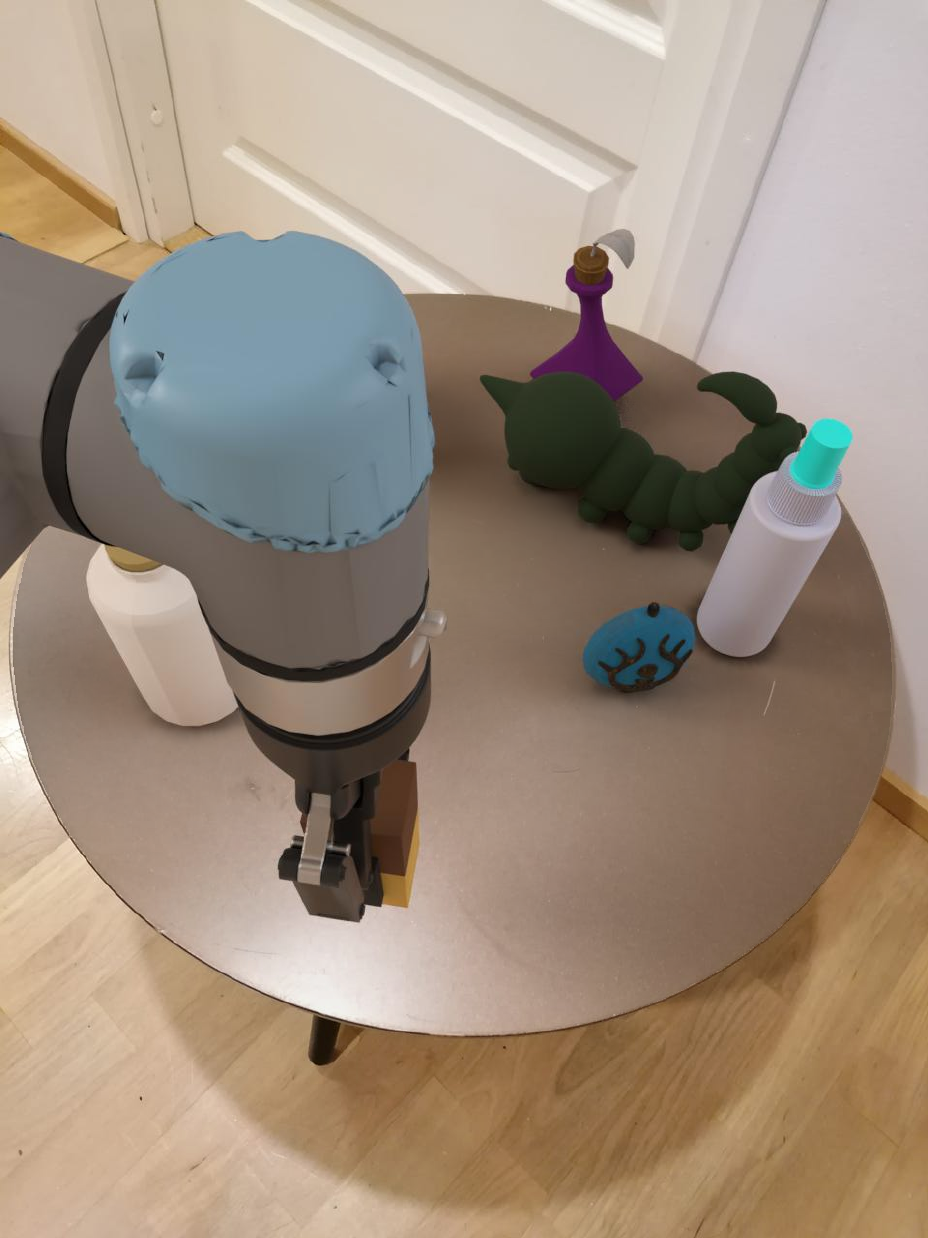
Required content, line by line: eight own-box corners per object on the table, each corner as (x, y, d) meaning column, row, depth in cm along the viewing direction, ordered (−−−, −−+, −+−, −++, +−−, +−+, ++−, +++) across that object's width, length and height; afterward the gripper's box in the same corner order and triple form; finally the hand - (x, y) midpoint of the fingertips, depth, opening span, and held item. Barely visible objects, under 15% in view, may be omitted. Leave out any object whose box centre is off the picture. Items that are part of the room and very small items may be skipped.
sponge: (408, 908, 55) (401, 838, 45) (324, 895, 55) (299, 822, 45) (419, 843, 57) (416, 761, 47) (339, 830, 57) (318, 747, 47)
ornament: (584, 711, 70) (605, 643, 62) (570, 658, 73) (588, 586, 64) (689, 696, 71) (724, 627, 63) (672, 645, 74) (703, 571, 65)
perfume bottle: (525, 399, 88) (545, 228, 73) (580, 362, 91) (609, 191, 76) (583, 443, 85) (616, 275, 70) (637, 404, 88) (680, 235, 73)
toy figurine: (743, 525, 83) (491, 409, 86) (840, 369, 66) (526, 234, 70) (708, 604, 78) (444, 478, 82) (805, 457, 62) (469, 308, 65)
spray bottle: (770, 602, 76) (879, 404, 58) (771, 665, 73) (886, 477, 55) (696, 590, 77) (780, 391, 58) (693, 653, 74) (782, 462, 55)
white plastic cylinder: (187, 619, 74) (124, 465, 59) (277, 661, 72) (237, 513, 57) (121, 703, 70) (36, 560, 54) (215, 750, 68) (154, 615, 53)
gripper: (385, 895, 30) (404, 1024, 49) (463, 488, 39) (453, 734, 59) (155, 859, 30) (265, 1001, 50) (287, 465, 39) (336, 717, 59)
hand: (367, 856), depth 54 cm, fingers closed on sponge, 4 cm apart
